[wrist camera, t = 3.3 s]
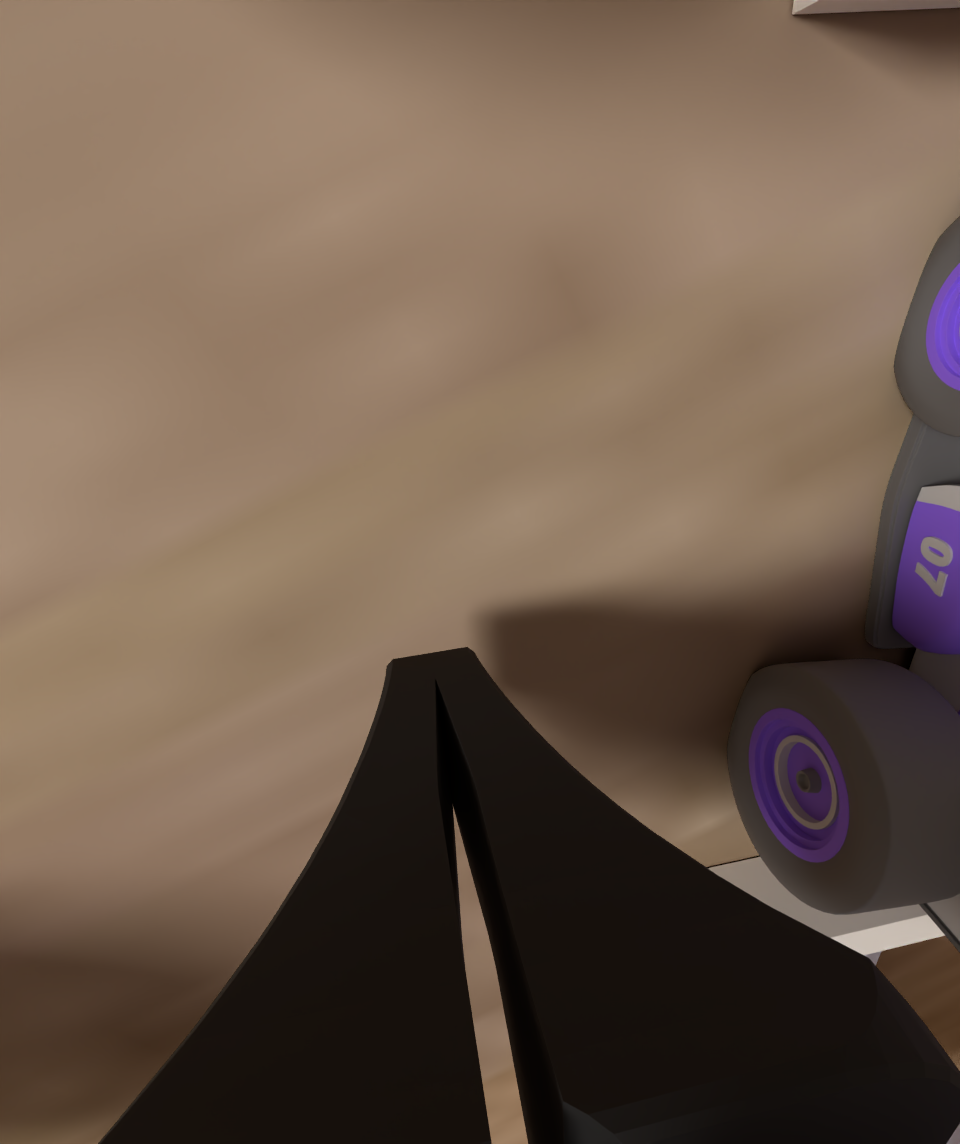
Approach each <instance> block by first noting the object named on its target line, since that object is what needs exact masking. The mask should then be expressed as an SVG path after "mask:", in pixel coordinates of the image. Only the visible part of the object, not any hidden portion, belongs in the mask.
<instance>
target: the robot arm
mask: <svg viewBox="0 0 960 1144" xmlns="http://www.w3.org/2000/svg"><path fill="white" fill-rule="evenodd" d="M453 807H454V811H455V814H456V818H457V822H458V825H459V829H460V833H461V836H462V840H463V844H464V847H465V851H466V855H467V858H468V862H469V866H470V869H471V873H472V877H473V880H474V884H475V887H476V891H477V895H478V898H479V902H480V906H481V909H482V913H483V917H484V920H485V924H486V928H487V931H488V935H489V939H490V944H491V948H492V952H493V956H494V961H495V965H496V970H497V975H498V981H499V986H500V992H501V997H502V1002H503V1008H504V1013H505V1018H506V1024H507V1029H508V1035H509V1040H510V1045H511V1051H512V1056H513V1062H514V1067H515V1073H516V1078H517V1084H518V1089H519V1095H520V1100H521V1106H522V1111H523V1116H524V1122H525V1127H526V1133H527V1139H528V1144H960V1071H959V1070H958V1068H957V1067H956V1066H955V1064H954V1063H953V1061H952V1060H951V1059H950V1057H949V1056H948V1055H947V1053H946V1052H945V1051H944V1049H943V1048H942V1046H941V1045H940V1044H939V1042H938V1041H937V1040H936V1038H935V1037H934V1035H933V1034H932V1033H931V1031H930V1030H929V1029H928V1027H927V1026H926V1025H925V1023H924V1022H923V1021H922V1020H921V1018H920V1017H919V1016H918V1015H917V1013H916V1012H915V1011H914V1010H913V1008H912V1007H911V1006H910V1005H909V1003H908V1002H907V1001H906V1000H905V999H904V998H903V997H902V995H901V994H900V993H899V992H898V991H897V990H896V989H895V987H894V986H893V985H892V984H891V983H890V982H889V981H888V979H887V978H886V977H885V976H884V975H883V974H882V973H881V972H880V970H879V969H878V968H877V967H876V964H877V961H878V959H879V956H880V954H881V951H880V952H876V953H872V954H868V955H862V954H860V953H858V952H857V951H855V950H853V949H851V948H849V947H847V946H845V945H843V944H841V943H839V942H837V941H835V940H834V939H832V938H830V937H828V936H826V935H824V934H822V933H820V932H818V931H816V930H814V929H812V928H810V927H809V926H807V925H805V924H803V923H801V922H799V921H797V920H795V919H793V918H791V917H789V916H787V915H786V914H784V913H782V912H780V911H778V910H776V909H774V908H772V907H770V906H769V905H767V904H765V903H763V902H762V901H760V900H758V899H757V898H755V897H753V896H752V895H750V894H748V893H747V892H745V891H743V890H742V889H740V888H738V887H737V886H735V885H733V884H732V883H730V882H728V881H727V880H725V879H723V878H722V877H720V876H718V875H717V874H715V873H714V872H712V871H711V870H709V869H708V868H706V867H705V866H703V865H702V864H700V863H699V862H697V861H696V860H694V859H693V858H691V857H690V856H689V855H687V854H686V853H684V852H683V851H681V850H680V849H678V848H677V847H675V846H674V845H672V844H671V843H669V842H668V841H666V840H665V839H663V838H662V837H660V836H659V835H657V834H656V833H654V832H653V831H651V830H650V829H649V828H647V827H646V826H645V825H643V824H642V823H641V822H639V821H638V820H637V819H636V818H634V817H633V816H632V815H630V814H629V813H628V812H626V811H625V810H624V809H622V808H621V807H620V806H618V805H617V804H616V803H615V802H614V801H612V800H611V799H610V798H609V797H607V796H606V795H605V794H604V793H603V792H601V791H600V790H599V789H598V788H597V787H595V786H594V785H593V784H592V783H591V782H590V781H588V780H587V779H586V778H585V777H584V776H583V775H582V774H580V773H579V772H578V771H577V770H576V769H575V768H574V767H573V766H572V765H571V764H569V763H568V762H567V761H566V760H565V759H564V758H563V757H562V756H561V755H560V754H559V753H558V752H557V751H556V750H555V749H554V748H553V747H552V746H551V745H550V744H549V743H548V742H547V741H546V740H545V739H544V738H543V737H542V736H541V735H540V734H539V733H538V732H537V731H536V730H535V729H534V728H533V727H532V725H531V724H530V723H529V722H528V721H527V720H526V719H525V718H524V717H523V715H522V714H521V713H520V712H519V711H518V710H517V709H516V708H515V707H514V705H513V704H512V703H511V702H510V701H509V700H508V698H507V697H506V696H505V695H504V693H503V692H502V691H501V690H500V688H499V687H498V686H497V685H496V683H495V682H494V681H493V679H492V678H491V677H490V675H489V674H488V673H487V671H486V670H485V668H484V667H483V666H482V664H481V662H480V661H479V659H478V658H477V656H476V654H475V653H474V652H473V651H472V650H471V649H469V648H468V647H464V648H458V649H452V650H446V651H440V652H434V653H428V654H422V655H416V656H410V657H404V658H398V659H393V660H392V661H391V662H390V663H389V664H388V665H387V669H386V677H385V682H384V687H383V691H382V694H381V698H380V702H379V705H378V708H377V711H376V715H375V718H374V721H373V723H372V726H371V729H370V732H369V734H368V737H367V740H366V742H365V745H364V748H363V751H362V753H361V756H360V758H359V760H358V763H357V765H356V767H355V769H354V772H353V774H352V776H351V778H350V781H349V783H348V785H347V787H346V789H345V792H344V794H343V796H342V798H341V801H340V803H339V805H338V807H337V809H336V811H335V813H334V815H333V817H332V819H331V821H330V823H329V825H328V826H327V828H326V830H325V832H324V834H323V836H322V838H321V839H320V841H319V843H318V845H317V847H316V848H315V850H314V852H313V854H312V856H311V857H310V859H309V861H308V863H307V864H306V866H305V868H304V869H303V871H302V873H301V874H300V876H299V877H298V879H297V881H296V882H295V884H294V885H293V887H292V889H291V890H290V892H289V894H288V895H287V897H286V898H285V900H284V902H283V903H282V905H281V906H280V908H279V910H278V911H277V913H276V914H275V916H274V917H273V919H272V920H271V922H270V923H269V925H268V926H267V928H266V929H265V931H264V932H263V934H262V935H261V937H260V938H259V940H258V941H257V943H256V944H255V945H254V947H253V948H252V949H251V951H250V952H249V954H248V955H247V956H246V958H245V959H244V960H243V962H242V963H241V965H240V966H239V967H238V969H237V970H236V971H235V973H234V974H233V975H232V977H231V978H230V980H229V981H228V982H227V984H226V985H225V986H224V988H223V989H222V991H221V992H220V993H219V995H218V996H217V997H216V999H215V1000H214V1002H213V1003H212V1004H211V1006H210V1007H209V1008H208V1010H207V1011H206V1013H205V1014H204V1015H203V1016H202V1018H201V1019H200V1020H199V1022H198V1023H197V1024H196V1025H195V1027H194V1028H193V1029H192V1031H191V1032H190V1033H189V1034H188V1036H187V1037H186V1038H185V1040H184V1041H183V1042H182V1043H181V1044H180V1046H179V1047H178V1048H177V1049H176V1050H175V1052H174V1053H173V1054H172V1055H171V1057H170V1058H169V1059H168V1060H167V1061H166V1063H165V1064H164V1065H163V1066H162V1067H161V1069H160V1070H159V1071H158V1072H157V1073H156V1075H155V1076H154V1077H153V1078H152V1080H151V1081H150V1082H149V1083H148V1084H147V1086H146V1087H145V1088H144V1089H143V1090H142V1092H141V1093H140V1094H139V1095H138V1096H137V1098H136V1099H135V1100H134V1101H133V1102H132V1104H131V1105H130V1106H129V1107H128V1109H127V1110H126V1111H125V1112H124V1113H123V1115H122V1116H121V1117H120V1118H119V1119H118V1121H117V1122H116V1123H115V1124H114V1125H113V1127H112V1128H111V1129H110V1130H109V1131H108V1133H107V1134H106V1135H105V1136H104V1137H103V1138H102V1140H101V1141H100V1142H99V1143H98V1144H492V1143H491V1137H490V1130H489V1124H488V1117H487V1111H486V1104H485V1097H484V1091H483V1084H482V1078H481V1071H480V1064H479V1058H478V1051H477V1045H476V1038H475V1031H474V1025H473V1018H472V1012H471V1005H470V998H469V992H468V985H467V979H466V972H465V963H464V953H463V944H462V931H461V917H460V903H459V888H458V874H457V860H456V845H455V831H454V817H453Z"/></svg>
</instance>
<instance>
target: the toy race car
mask: <svg viewBox="0 0 960 1144" xmlns="http://www.w3.org/2000/svg"><path fill="white" fill-rule="evenodd" d="M894 372H895V376H896V380H897V384H898V387H899V390H900V392H901V395H902V397H903V398H904V400H905V402H906V404H907V405H908V407H909V408H910V409H911V410H912V412H913V413H914V414H913V417H912V420H911V422H910V425H909V428H908V430H907V433H906V436H905V438H904V441H903V444H902V446H901V449H900V452H899V454H898V457H897V460H896V462H895V465H894V468H893V471H892V474H891V477H890V480H889V483H888V486H887V490H886V493H885V497H884V501H883V506H882V511H881V517H880V524H879V531H878V538H877V545H876V552H875V559H874V566H873V573H872V580H871V587H870V594H869V601H868V608H867V615H866V623H865V639H866V641H867V642H869V643H870V644H871V645H873V646H874V647H876V648H880V649H893V648H909V647H916V651H915V654H914V657H913V660H912V662H911V665H910V668H909V670H907V669H905V668H903V667H901V666H898V665H896V664H893V663H890V662H887V661H882V660H877V659H844V660H829V661H814V662H799V663H785V664H777V665H771V666H767V667H765V668H762V669H760V670H758V671H757V672H755V673H754V674H752V676H751V677H750V679H749V681H748V683H747V685H746V687H745V689H744V691H743V694H742V696H741V699H740V701H739V704H738V707H737V710H736V713H735V716H734V719H733V723H732V726H731V730H730V734H729V739H728V745H727V759H728V769H729V775H730V781H731V786H732V790H733V795H734V798H735V801H736V805H737V808H738V811H739V814H740V816H741V819H742V822H743V824H744V826H745V829H746V831H747V833H748V835H749V837H750V839H751V841H752V843H753V845H754V847H755V849H756V850H757V852H758V854H759V855H760V857H761V859H762V860H763V862H764V863H765V864H766V866H767V867H768V869H769V870H770V871H771V873H772V874H773V875H774V876H775V877H776V879H777V880H778V881H779V882H780V883H781V884H782V885H783V886H784V887H785V888H786V889H787V890H788V891H789V892H790V893H791V894H793V895H794V896H795V897H796V898H798V899H799V900H800V901H802V902H803V903H805V904H807V905H808V906H810V907H812V908H814V909H817V910H819V911H822V912H825V913H830V914H834V915H849V914H858V913H864V912H871V911H877V910H884V909H891V908H897V907H904V906H910V905H917V904H919V905H920V906H921V908H922V909H923V910H924V911H925V912H926V913H927V915H928V916H929V917H930V918H931V919H932V921H933V922H934V923H935V924H936V925H937V926H938V928H939V929H940V930H941V931H942V932H943V933H944V935H945V936H946V937H947V938H948V939H949V940H950V942H951V943H952V944H953V945H954V946H955V947H956V949H957V950H958V951H959V952H960V216H959V217H958V218H957V219H956V220H955V221H954V222H953V223H952V224H951V225H950V226H949V227H948V228H947V229H946V230H945V231H944V232H943V234H942V235H941V236H940V237H939V239H938V240H937V242H936V244H935V245H934V247H933V249H932V252H931V254H930V256H929V258H928V260H927V262H926V265H925V267H924V269H923V272H922V274H921V277H920V280H919V282H918V285H917V288H916V291H915V294H914V296H913V299H912V302H911V305H910V308H909V311H908V314H907V317H906V320H905V323H904V326H903V329H902V332H901V335H900V339H899V342H898V346H897V351H896V355H895V361H894Z"/></svg>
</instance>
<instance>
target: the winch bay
mask: <svg viewBox="0 0 960 1144" xmlns="http://www.w3.org/2000/svg"><path fill="white" fill-rule="evenodd" d="M938 8H960V0H794V3H793V11H792V15H794V14H818V13H842V12H866V11H890V10H914V9H938ZM708 869H709V870H711V871H712V872H714V873H715V874H717V875H718V876H720V877H722V878H723V879H725V880H727V881H728V882H730V883H732V884H733V885H735V886H737V887H738V888H740V889H742V890H743V891H745V892H747V893H748V894H750V895H752V896H753V897H755V898H757V899H758V900H760V901H762V902H763V903H765V904H767V905H769V906H770V907H772V908H774V909H776V910H778V911H780V912H782V913H784V914H786V915H787V916H789V917H791V918H793V919H795V920H797V921H799V922H801V923H803V924H805V925H807V926H809V927H810V928H812V929H814V930H816V931H818V932H820V933H822V934H824V935H826V936H828V937H830V938H832V939H834V940H835V941H837V942H839V943H841V944H843V945H845V946H847V947H849V948H851V949H853V950H855V951H857V952H858V953H860V954H862V955H868V954H872V953H876V952H880V951H884V950H888V949H892V948H896V947H900V946H904V945H909V944H913V943H917V942H921V941H925V940H929V939H933V938H937V937H941V936H945V935H944V933H943V932H942V931H941V930H940V929H939V928H938V926H937V925H936V924H935V923H934V922H933V921H932V919H931V918H930V917H929V916H928V915H927V913H926V912H925V911H924V910H923V909H922V908H921V906H920V905H919V904H917V905H910V906H904V907H897V908H891V909H884V910H877V911H871V912H864V913H858V914H849V915H834V914H830V913H825V912H822V911H819V910H817V909H814V908H812V907H810V906H808V905H807V904H805V903H803V902H802V901H800V900H799V899H798V898H796V897H795V896H794V895H793V894H791V893H790V892H789V891H788V890H787V889H786V888H785V887H784V886H783V885H782V884H781V883H780V882H779V881H778V880H777V879H776V877H775V876H774V875H773V874H772V873H771V871H770V870H769V869H768V867H767V866H766V864H765V863H764V862H763V860H762V859H761V857H757V858H752V859H747V860H743V861H738V862H734V863H729V864H725V865H720V866H715V867H711V868H708Z"/></svg>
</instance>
